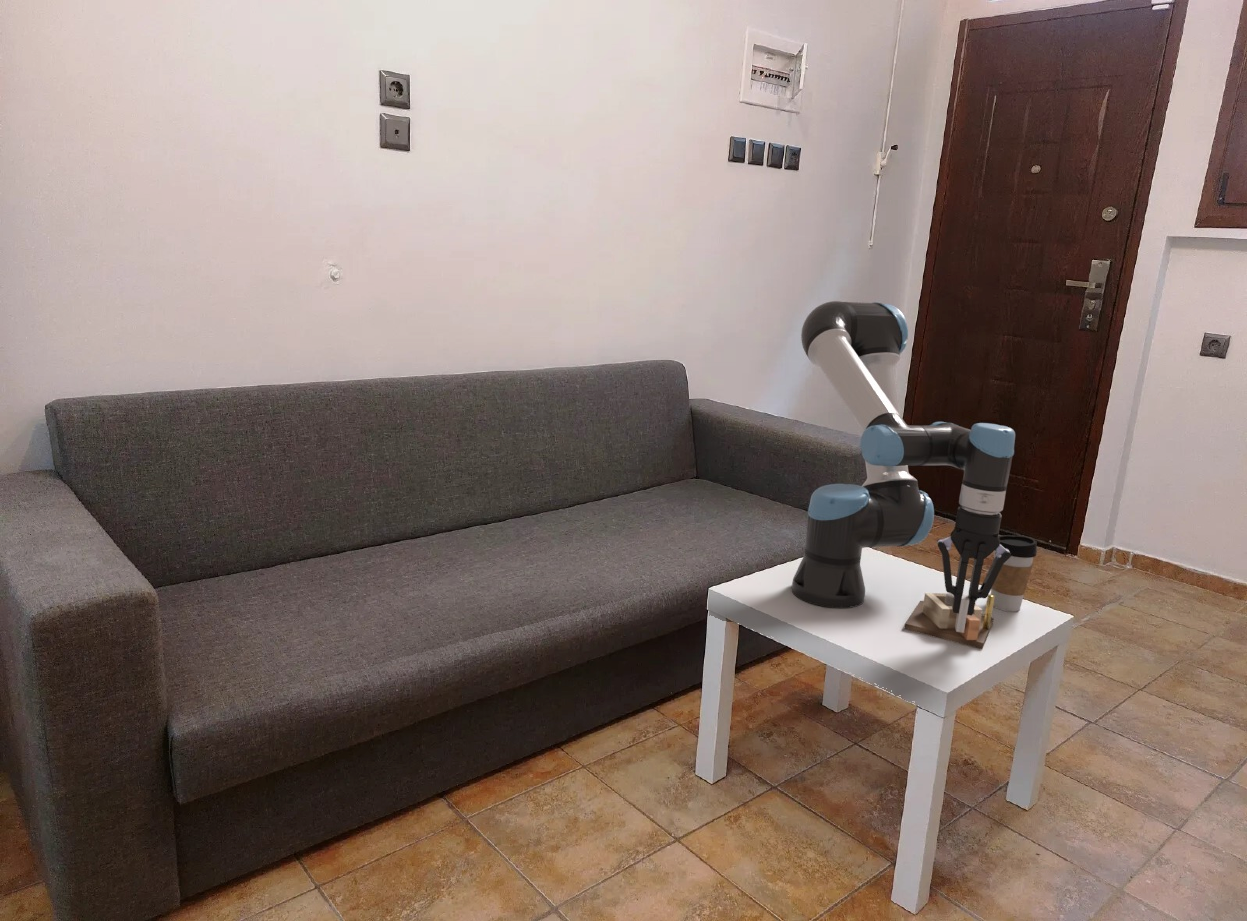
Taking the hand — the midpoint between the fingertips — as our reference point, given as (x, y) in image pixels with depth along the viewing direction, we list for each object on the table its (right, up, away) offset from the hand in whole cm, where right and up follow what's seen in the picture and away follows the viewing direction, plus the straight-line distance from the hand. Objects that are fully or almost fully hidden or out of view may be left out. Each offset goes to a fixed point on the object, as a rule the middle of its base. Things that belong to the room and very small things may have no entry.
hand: (959, 629), depth 162 cm
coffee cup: (+18, +1, +21) cm, 27 cm away
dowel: (+7, -1, +5) cm, 9 cm away
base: (+1, -1, +8) cm, 9 cm away
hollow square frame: (+2, 0, +6) cm, 6 cm away
